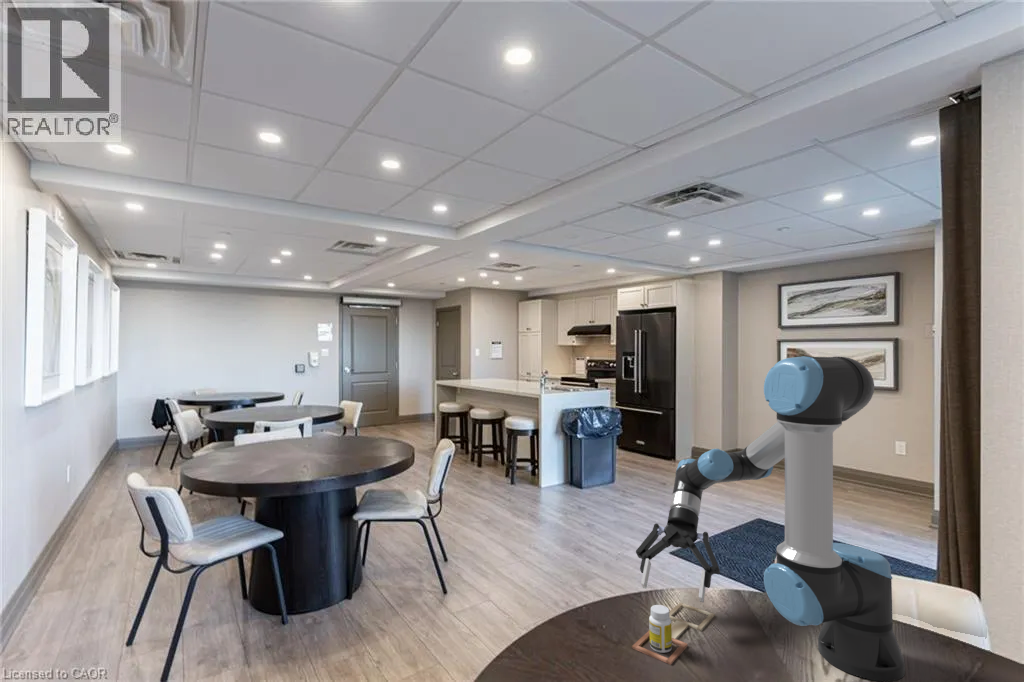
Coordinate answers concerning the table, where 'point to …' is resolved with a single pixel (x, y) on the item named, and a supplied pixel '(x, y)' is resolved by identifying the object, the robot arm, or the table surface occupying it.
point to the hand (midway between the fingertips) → (671, 593)
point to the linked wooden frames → (674, 633)
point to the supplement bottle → (660, 629)
